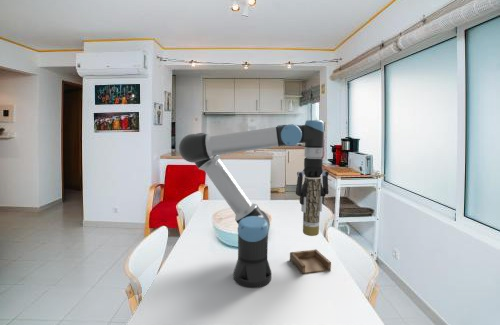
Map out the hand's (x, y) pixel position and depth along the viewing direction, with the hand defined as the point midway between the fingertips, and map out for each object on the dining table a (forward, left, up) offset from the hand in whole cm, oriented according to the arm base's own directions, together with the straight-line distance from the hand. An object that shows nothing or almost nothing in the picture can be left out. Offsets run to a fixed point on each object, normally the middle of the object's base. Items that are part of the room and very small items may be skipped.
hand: (311, 211), depth 121 cm
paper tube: (0, 0, -10) cm, 10 cm away
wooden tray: (0, 0, -24) cm, 24 cm away
